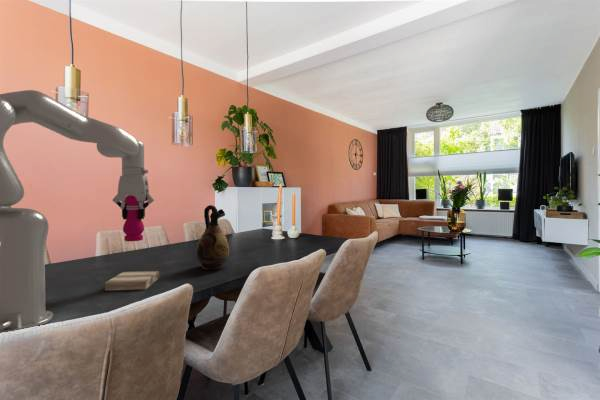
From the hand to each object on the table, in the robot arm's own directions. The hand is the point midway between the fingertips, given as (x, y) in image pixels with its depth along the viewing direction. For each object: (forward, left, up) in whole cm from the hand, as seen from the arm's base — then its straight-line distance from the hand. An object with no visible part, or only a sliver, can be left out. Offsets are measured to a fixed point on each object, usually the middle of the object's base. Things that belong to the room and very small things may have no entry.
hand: (133, 218), depth 113 cm
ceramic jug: (+23, -26, -26) cm, 43 cm away
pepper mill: (0, 0, -9) cm, 9 cm away
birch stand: (0, 0, -26) cm, 26 cm away
